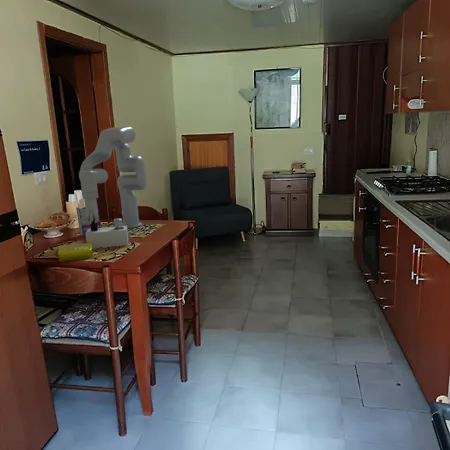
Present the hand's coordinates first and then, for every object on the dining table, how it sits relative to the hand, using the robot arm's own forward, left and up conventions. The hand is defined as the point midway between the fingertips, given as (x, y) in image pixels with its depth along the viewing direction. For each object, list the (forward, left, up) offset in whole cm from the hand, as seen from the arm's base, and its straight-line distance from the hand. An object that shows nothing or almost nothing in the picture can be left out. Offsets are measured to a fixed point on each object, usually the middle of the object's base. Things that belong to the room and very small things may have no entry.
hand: (94, 230), depth 211 cm
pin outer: (0, 0, -6) cm, 6 cm away
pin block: (0, +6, -8) cm, 10 cm away
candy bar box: (-28, -6, -8) cm, 30 cm away
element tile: (+15, -8, -9) cm, 19 cm away
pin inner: (0, +12, -1) cm, 12 cm away
